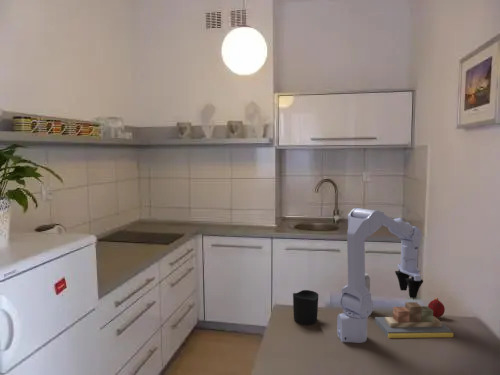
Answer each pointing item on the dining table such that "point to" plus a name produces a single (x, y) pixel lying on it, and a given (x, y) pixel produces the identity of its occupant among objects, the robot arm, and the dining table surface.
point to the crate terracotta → (401, 314)
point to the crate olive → (427, 314)
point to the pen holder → (305, 307)
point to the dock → (412, 330)
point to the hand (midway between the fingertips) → (408, 293)
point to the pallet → (415, 324)
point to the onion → (436, 308)
